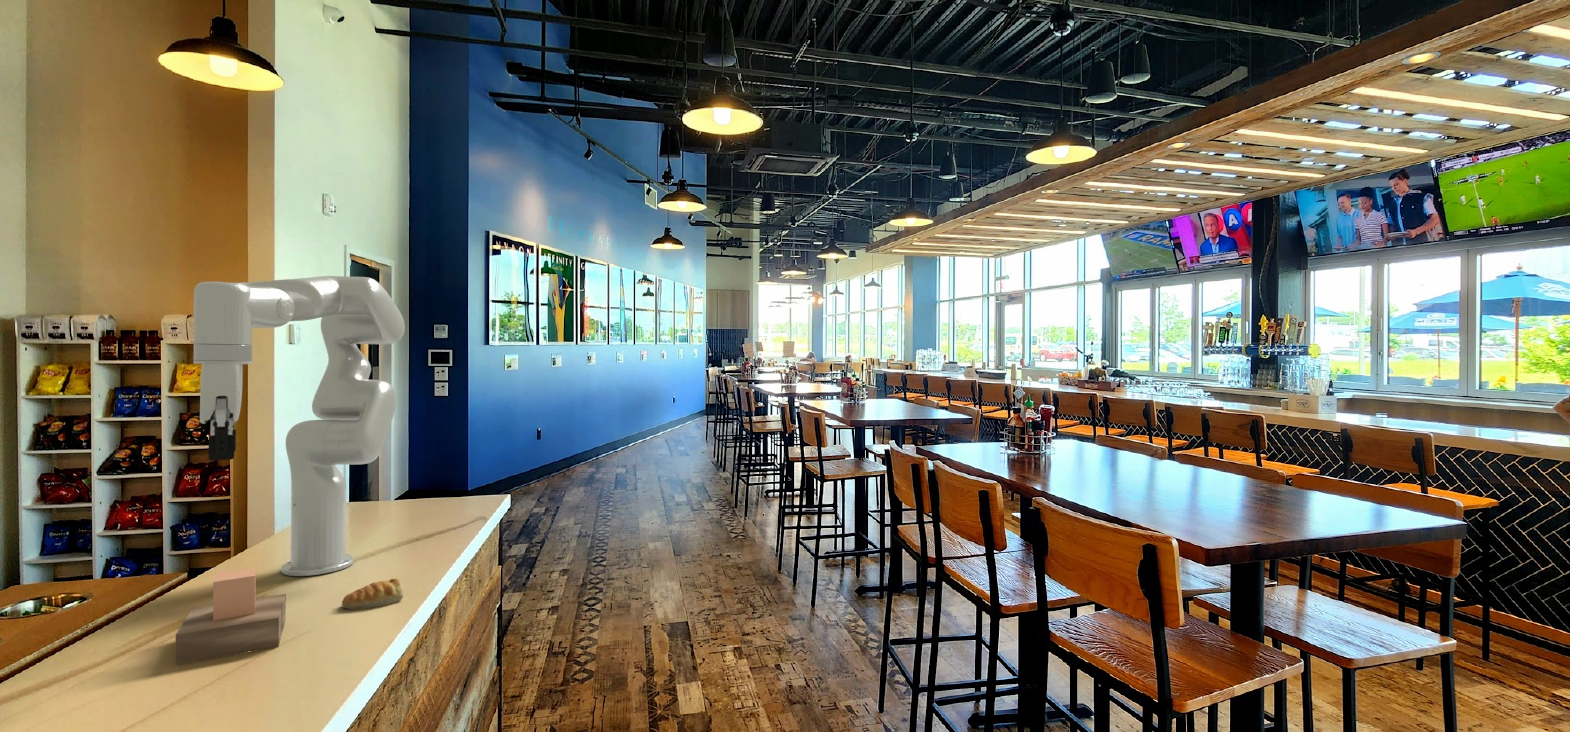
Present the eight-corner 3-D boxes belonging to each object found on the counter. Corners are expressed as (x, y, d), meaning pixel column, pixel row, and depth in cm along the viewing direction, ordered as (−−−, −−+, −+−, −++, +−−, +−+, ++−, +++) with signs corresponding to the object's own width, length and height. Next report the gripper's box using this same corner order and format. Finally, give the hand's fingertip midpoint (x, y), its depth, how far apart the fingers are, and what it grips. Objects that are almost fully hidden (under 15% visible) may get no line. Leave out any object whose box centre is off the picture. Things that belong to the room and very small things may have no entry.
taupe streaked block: (192, 638, 106) (192, 607, 106) (285, 623, 113) (285, 594, 113) (175, 668, 96) (175, 634, 96) (278, 649, 103) (278, 617, 103)
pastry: (347, 615, 116) (347, 594, 116) (337, 605, 121) (337, 585, 121) (406, 601, 123) (406, 581, 123) (394, 592, 128) (394, 573, 128)
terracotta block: (215, 610, 105) (215, 573, 105) (255, 603, 108) (255, 567, 108) (213, 620, 101) (213, 582, 101) (254, 613, 104) (255, 575, 104)
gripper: (197, 354, 116) (196, 451, 116) (189, 355, 103) (188, 465, 103) (251, 355, 121) (251, 448, 121) (251, 356, 107) (250, 460, 107)
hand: (222, 456), depth 112 cm, fingers open, 9 cm apart
